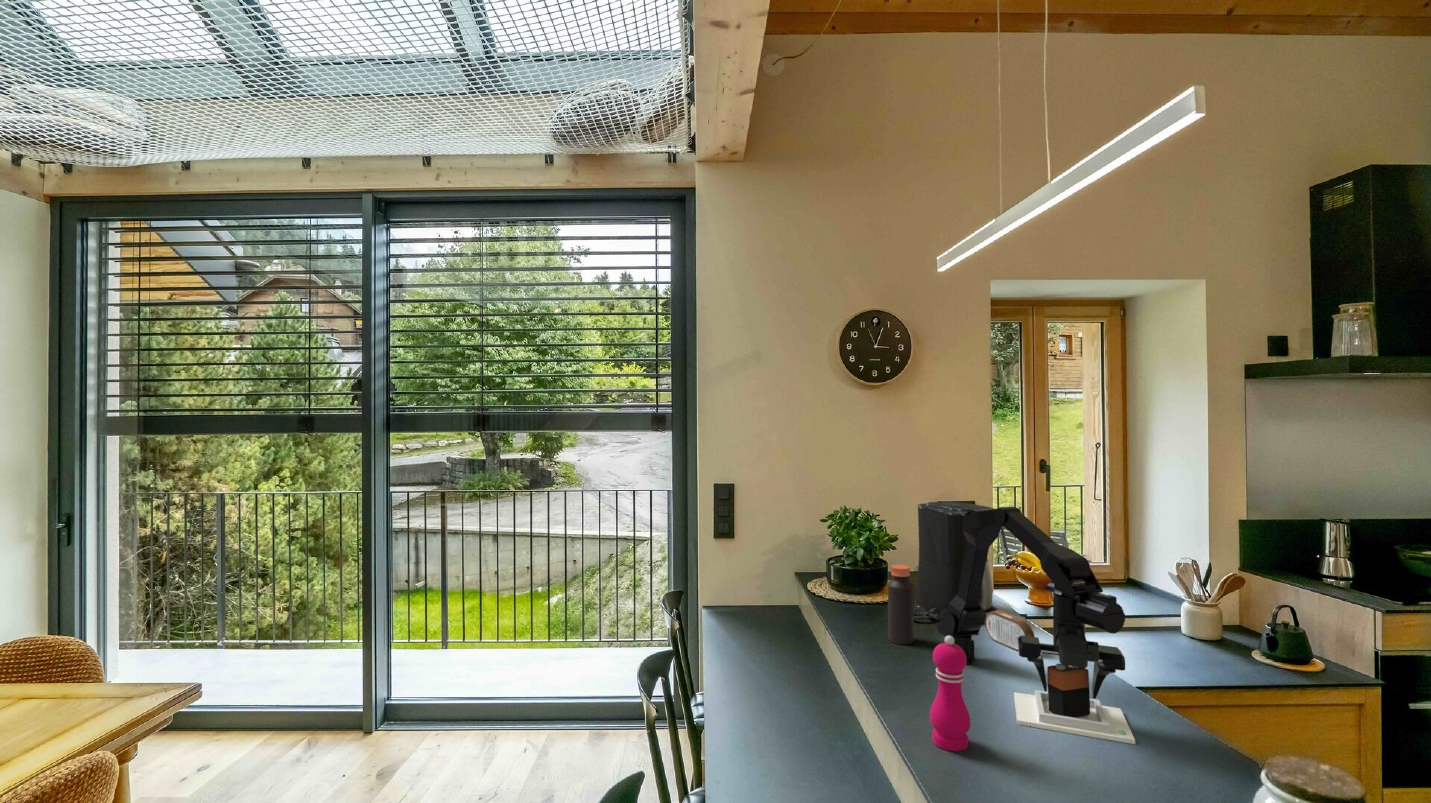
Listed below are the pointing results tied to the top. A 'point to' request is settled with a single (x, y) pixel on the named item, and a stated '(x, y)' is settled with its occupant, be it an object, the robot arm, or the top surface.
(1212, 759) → the top surface
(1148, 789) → the top surface
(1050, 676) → the battery
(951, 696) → the pepper mill
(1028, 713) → the charging cradle
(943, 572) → the coffee maker
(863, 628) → the top surface
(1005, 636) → the tin
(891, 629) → the bottle
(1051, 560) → the robot arm
